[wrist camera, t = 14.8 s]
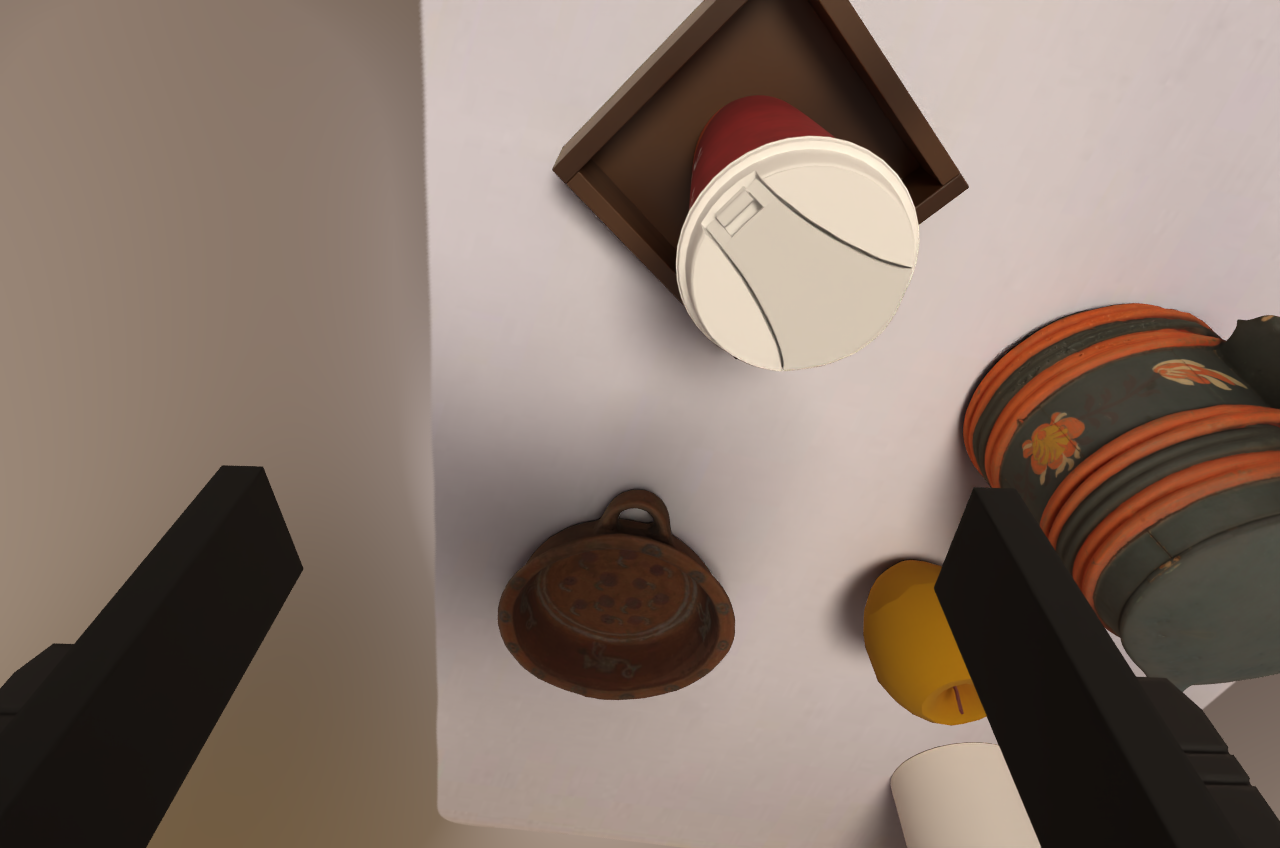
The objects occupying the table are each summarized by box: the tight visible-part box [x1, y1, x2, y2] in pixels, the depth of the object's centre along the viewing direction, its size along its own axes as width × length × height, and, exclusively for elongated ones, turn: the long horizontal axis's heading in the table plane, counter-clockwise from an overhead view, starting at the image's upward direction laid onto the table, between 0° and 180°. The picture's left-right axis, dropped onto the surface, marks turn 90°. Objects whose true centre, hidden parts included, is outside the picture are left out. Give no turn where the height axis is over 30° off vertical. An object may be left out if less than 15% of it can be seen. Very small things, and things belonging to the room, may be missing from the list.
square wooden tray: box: [552, 0, 969, 359], centre depth 33 cm, size 14×14×4 cm
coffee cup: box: [676, 95, 919, 371], centre depth 28 cm, size 8×8×15 cm
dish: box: [498, 490, 735, 700], centre depth 52 cm, size 17×22×5 cm
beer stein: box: [963, 303, 1280, 692], centre depth 34 cm, size 19×15×20 cm
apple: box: [863, 560, 986, 725], centre depth 48 cm, size 10×10×12 cm
